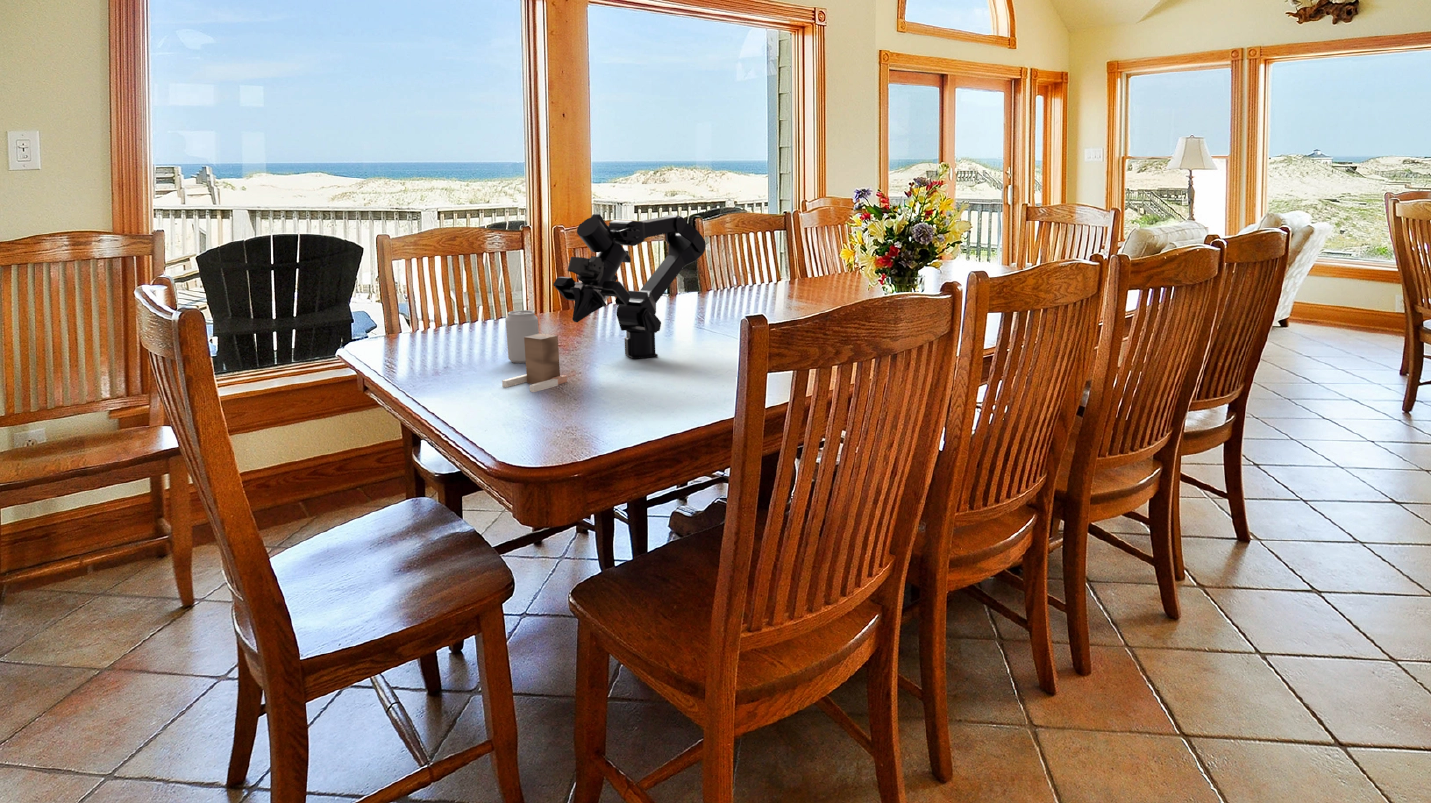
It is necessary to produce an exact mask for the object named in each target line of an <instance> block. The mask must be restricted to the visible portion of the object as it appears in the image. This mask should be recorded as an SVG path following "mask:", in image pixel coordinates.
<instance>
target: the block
mask: <svg viewBox="0 0 1431 803" xmlns="http://www.w3.org/2000/svg"><path fill="white" fill-rule="evenodd" d="M524 344H525V359H526V363H525V371H526V374H527V382H526V383H527V384H529V385H532V384H536V383H539V382H543V381H547V380H550V379H551V378H554V377H557V376H561V369H560V368H561V367H560V352H559V336H558V335H556V334H550V333H549V334H547V333H539V334H536V335H531V336H527V337H524Z"/></svg>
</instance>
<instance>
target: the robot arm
mask: <svg viewBox="0 0 1431 803" xmlns="http://www.w3.org/2000/svg"><path fill="white" fill-rule="evenodd" d="M576 233H577V235H578V236H579V238H580V239H581V240H582V241H583V243H584V244H585V246H586V247H587V248H588V249H589V251H591V253H596V256H595V255H594V256H590V257H589V258H588V257H582V256H581V257H580V256H570V260H569V263H568V267H567V271H568V272H570V273H573V274H575V275H577V277H576V278H577V280H578V281H575V279H574V278H573V277H569V276H557V277H556V279H555V281H554V282H553V287H554V288H555V289H556V290H557V291H558V293H559V294H560V295H561V296H562V297H563V299H565V300H567V301H573V302H574V305H573V312H572V318H571V319H572V321H573V323H579V322H581V321H582V320H583V319H585V318H587V317H588V316H590V315H591V314H592V313H594V312H597V311H598V310H599V309H601V308H604V307H607V303H606V302H607V300H608V299H609V298H610V297H612V298H613V297H616V298H615V300H614V302H615V304H616V305H617V308H616V317H617V320H618V324H619V328H620V330H621V331H625V332H626V336H624V355H626V356H627V357H629V358H630V359H632V360H633V359H635V360H636V359H637V360H638V359H647V358H657V357H658V356H659V354H658V353H656V333H658V332H660V330H661V327H662V321H661V320H660V319H659V317H658V316H657V315H656V314H657V302H658V301H659V300H660V299H661V298H662V296H663V295H664V293H666V290H668V288H669V287H670V286H671V284H672V283H673V282H674V280H675V279H676V278H677V276H679V274H680V273H681V271H682V270H683V269H684V268H685V267H686V266H688V265H690V264H692V263H695V262H696V261H697V260H698V259H700V258H701V257H702V256H703V254H704V253H705V252H706V248H707V245H706V244H707V242H706V239H705V238H704V237H703V235H702V234H701V233H700V232H699V230H698V229H696V228H695V227H694V226H692V225H691V224H689V223H688V222H687V221H686V220H685V218H684V217H683V216H680V215H675V214H674V215H673V214H672V215H671V214H670V215H669V214H666V215H664V216H661V217H655V218H650V219H644V220H638V221H637V220H624V219H623V220H620V219H619V220H618V219H617V220H615V219H614V220H610V222H609V223H608V224H607V223H606V221H605V220H604V219H603V217H602V215H601V214H598V213H594V214H593V213H592V215H591V217H589V218H586V219H585V220H583V221H581V223H579V225H578V226H577V228H576ZM661 235H665V242H666V243H667V244H668V254H667V255H666V257H665V258H664V260H663V261H662V262H661V263H660V264H659V266H658V267H657V268H656V270H655V271H654V272H653V274H651V276H650V277H649V279H648V280H646V282H645V283H644V284H643V286H642V288H641V289H640V290H638V291H636V290H627V289H626V287H625V286H624V285H623V284H622V283H621V281H618V278H619V277H618V276H617V272H618V270H619V269H620V266H621V265H622V263H626V264H627V263H631V262H632V261H631V256H630V254H629V253H630V251H629V250H625V248H624V247H623V246H630V247H635V246H637V245H639V244H641V243H643V242H644V241H645V240H646V239H647V238H650V237H651V238H652V237H655V236H661Z"/></svg>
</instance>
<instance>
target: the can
mask: <svg viewBox="0 0 1431 803" xmlns="http://www.w3.org/2000/svg"><path fill="white" fill-rule="evenodd" d="M535 313H536V312H535V311H534V310H530V309H529V310H528V309H527V310H526V309H519V310H511V311H509V312H508V313H507V315H508V316H506V318H505V329H506V344H507V357H508V358H507V359H508V360H509V361H510V362H512V363H513V364H526V359H525V344H524V337H527V336H531V335H536V334H540V330H539V317H538V316H537V315H535Z"/></svg>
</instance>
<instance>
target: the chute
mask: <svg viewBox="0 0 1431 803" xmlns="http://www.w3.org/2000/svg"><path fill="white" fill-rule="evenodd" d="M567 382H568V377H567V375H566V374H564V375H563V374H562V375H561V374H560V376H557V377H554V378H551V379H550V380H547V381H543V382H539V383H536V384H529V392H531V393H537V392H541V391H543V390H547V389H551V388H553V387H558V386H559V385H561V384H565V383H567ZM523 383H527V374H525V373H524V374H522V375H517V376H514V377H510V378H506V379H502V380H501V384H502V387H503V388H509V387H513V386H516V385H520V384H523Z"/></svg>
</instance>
